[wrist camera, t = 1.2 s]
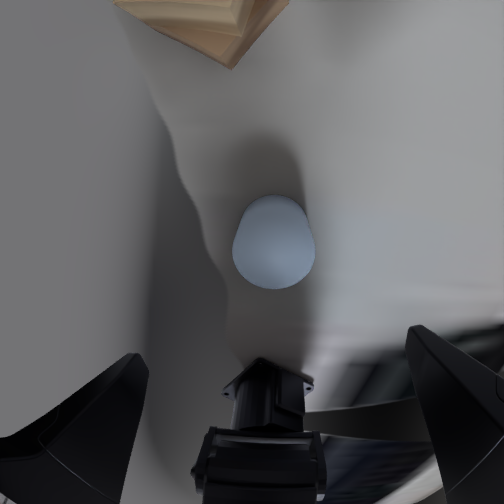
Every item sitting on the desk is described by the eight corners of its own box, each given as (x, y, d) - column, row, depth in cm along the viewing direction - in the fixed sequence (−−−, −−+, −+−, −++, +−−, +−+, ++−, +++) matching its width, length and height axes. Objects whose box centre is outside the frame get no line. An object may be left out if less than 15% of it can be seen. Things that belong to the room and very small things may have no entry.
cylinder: (281, 269, 20) (281, 302, 17) (227, 234, 20) (216, 261, 16) (321, 221, 19) (332, 245, 15) (266, 181, 18) (264, 196, 14)
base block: (231, 70, 15) (220, 56, 12) (158, 32, 14) (131, 14, 10) (288, 4, 13) (291, -23, 9) (212, -31, 12) (198, -59, 8)
